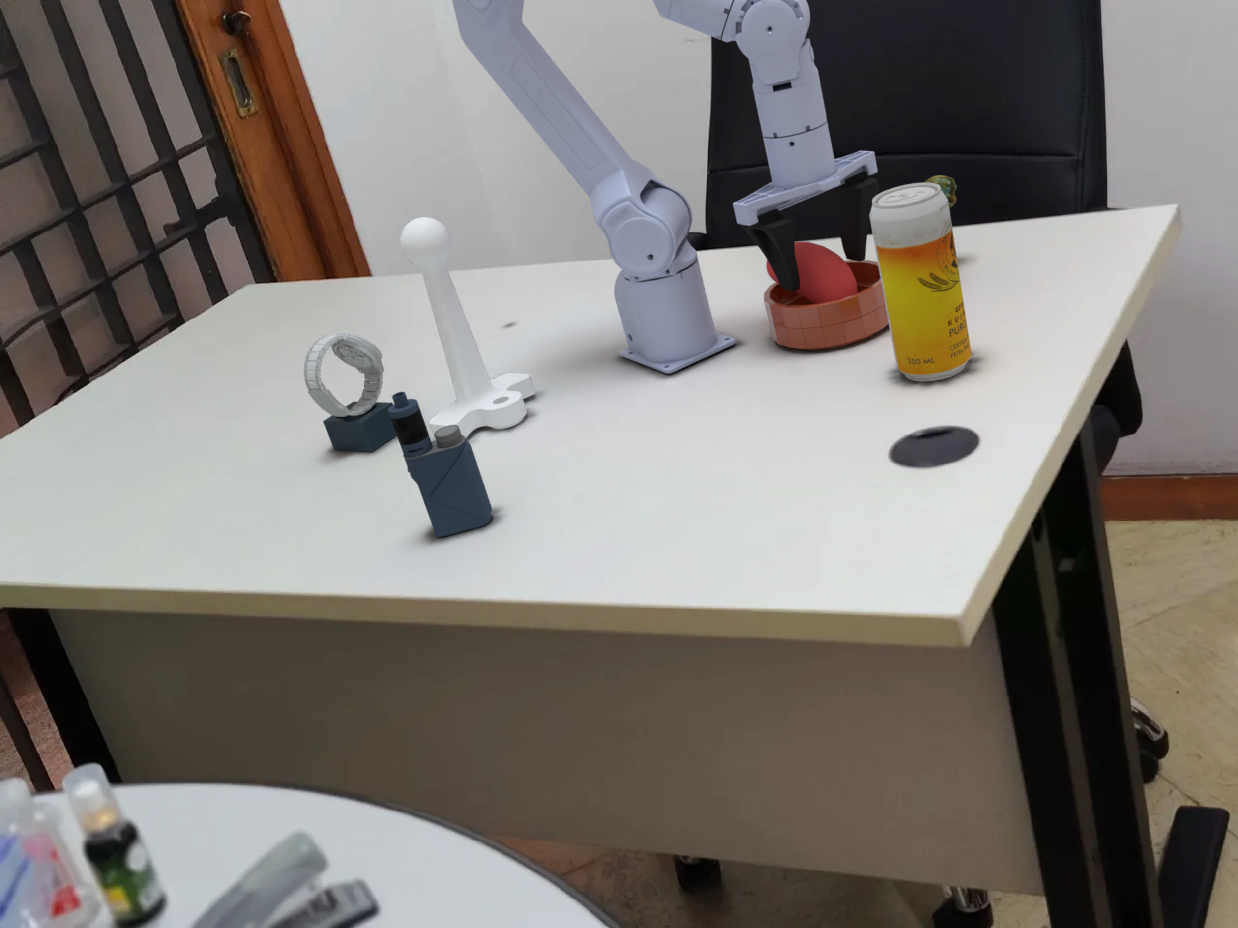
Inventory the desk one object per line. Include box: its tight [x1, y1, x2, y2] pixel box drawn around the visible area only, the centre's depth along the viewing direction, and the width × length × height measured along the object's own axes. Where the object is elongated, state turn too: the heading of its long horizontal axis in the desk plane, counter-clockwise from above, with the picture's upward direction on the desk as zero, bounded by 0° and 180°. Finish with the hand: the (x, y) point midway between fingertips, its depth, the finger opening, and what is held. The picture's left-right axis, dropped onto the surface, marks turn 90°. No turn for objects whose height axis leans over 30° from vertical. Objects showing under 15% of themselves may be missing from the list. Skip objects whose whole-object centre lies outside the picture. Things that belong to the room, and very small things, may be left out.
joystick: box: [399, 216, 537, 441], centre depth 118 cm, size 11×8×20 cm
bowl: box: [763, 259, 889, 351], centre depth 120 cm, size 12×12×4 cm
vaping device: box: [388, 391, 493, 538], centre depth 100 cm, size 3×5×12 cm, turn 95°
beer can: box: [869, 182, 973, 382], centre depth 104 cm, size 6×6×15 cm
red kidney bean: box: [765, 241, 858, 304], centre depth 120 cm, size 5×9×6 cm, turn 38°
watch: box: [303, 330, 397, 453], centre depth 124 cm, size 6×8×11 cm
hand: (823, 273), depth 119 cm, fingers open, 7 cm apart
